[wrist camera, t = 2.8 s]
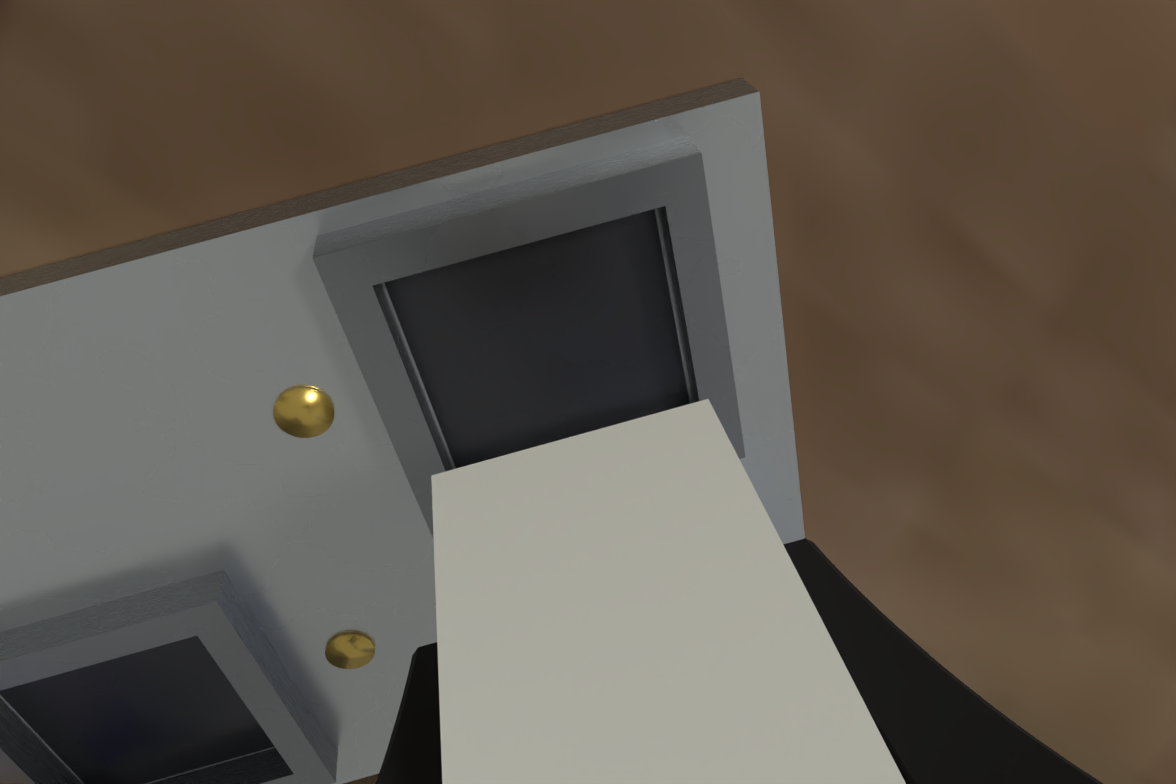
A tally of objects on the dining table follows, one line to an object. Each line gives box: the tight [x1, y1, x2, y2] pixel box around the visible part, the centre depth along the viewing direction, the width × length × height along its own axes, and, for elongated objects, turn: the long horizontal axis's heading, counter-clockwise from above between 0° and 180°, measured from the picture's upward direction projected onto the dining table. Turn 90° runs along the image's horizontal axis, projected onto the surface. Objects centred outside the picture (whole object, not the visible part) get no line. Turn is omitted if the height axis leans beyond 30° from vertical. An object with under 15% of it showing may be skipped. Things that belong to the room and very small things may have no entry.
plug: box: [431, 399, 906, 784], centre depth 11 cm, size 4×4×7 cm
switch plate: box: [0, 78, 805, 784], centre depth 21 cm, size 16×22×2 cm
